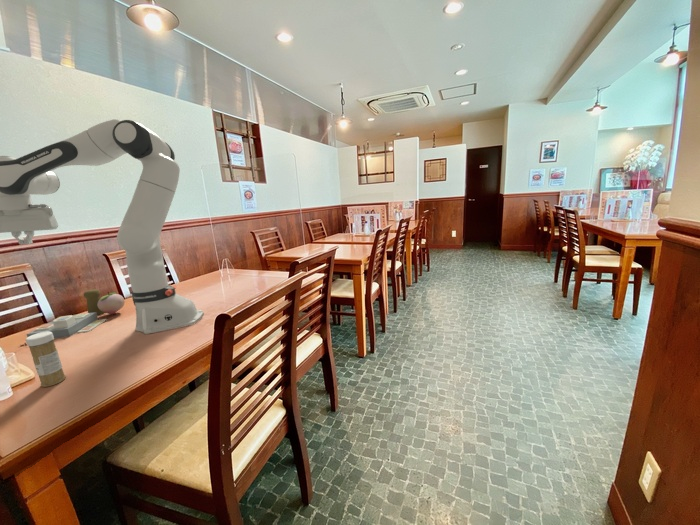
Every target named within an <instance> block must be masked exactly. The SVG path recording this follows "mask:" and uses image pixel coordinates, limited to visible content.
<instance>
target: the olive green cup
mask: <svg viewBox="0 0 700 525" xmlns="http://www.w3.org/2000/svg"><path fill="white" fill-rule="evenodd" d="M100 295H101V291H100V290H99V289H95V288H94V289H89V290H85V291H84V292H83V297H84V298H85V299H86V307H87V308H86V309H87V313H94V312H96V313H97V316H98V317H99V316H102V315H104V312H102V311H101V310H100V309H99V308H98V306H97V304H98V301H99V300H100V299H101V297H100Z"/></svg>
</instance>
